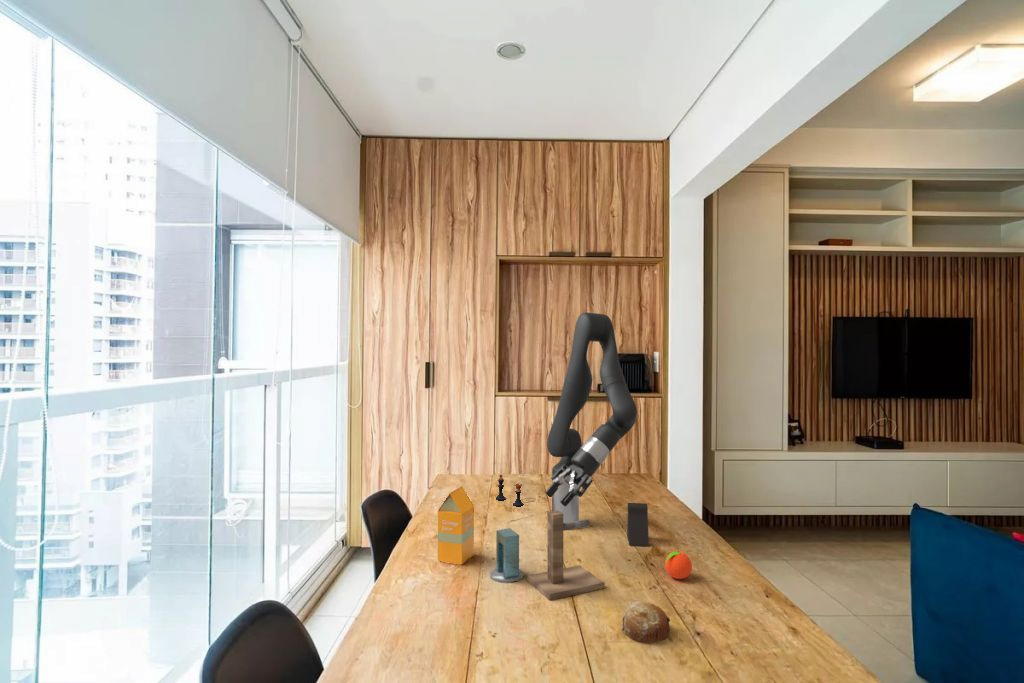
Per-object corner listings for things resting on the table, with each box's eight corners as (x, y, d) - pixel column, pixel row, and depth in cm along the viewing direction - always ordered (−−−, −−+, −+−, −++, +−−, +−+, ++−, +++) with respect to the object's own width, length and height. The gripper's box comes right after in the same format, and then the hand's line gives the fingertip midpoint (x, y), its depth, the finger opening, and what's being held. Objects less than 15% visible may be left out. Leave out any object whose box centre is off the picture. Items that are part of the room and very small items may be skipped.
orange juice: (474, 554, 161) (474, 486, 162) (461, 565, 153) (462, 494, 153) (450, 551, 164) (450, 484, 164) (437, 561, 155) (437, 492, 156)
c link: (496, 570, 148) (496, 530, 148) (509, 568, 149) (509, 528, 150) (505, 579, 142) (505, 537, 142) (519, 576, 144) (519, 535, 144)
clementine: (675, 586, 139) (675, 558, 139) (656, 576, 146) (656, 549, 146) (697, 580, 143) (697, 553, 143) (678, 570, 149) (678, 545, 149)
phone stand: (648, 547, 167) (648, 508, 167) (629, 546, 168) (628, 507, 168) (645, 537, 176) (645, 500, 176) (627, 536, 177) (626, 499, 177)
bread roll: (624, 636, 122) (609, 605, 122) (664, 615, 123) (649, 583, 123) (638, 662, 112) (622, 627, 112) (681, 638, 113) (665, 604, 113)
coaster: (485, 572, 148) (485, 570, 148) (515, 566, 152) (515, 564, 152) (498, 585, 140) (498, 582, 140) (529, 579, 144) (529, 576, 144)
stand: (527, 581, 142) (527, 508, 143) (579, 570, 149) (579, 501, 149) (549, 600, 132) (549, 521, 132) (604, 588, 138) (604, 513, 139)
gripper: (570, 442, 162) (535, 484, 158) (596, 453, 149) (559, 498, 145) (584, 459, 165) (550, 500, 160) (612, 470, 152) (575, 516, 147)
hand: (554, 499), depth 152 cm, fingers open, 8 cm apart
